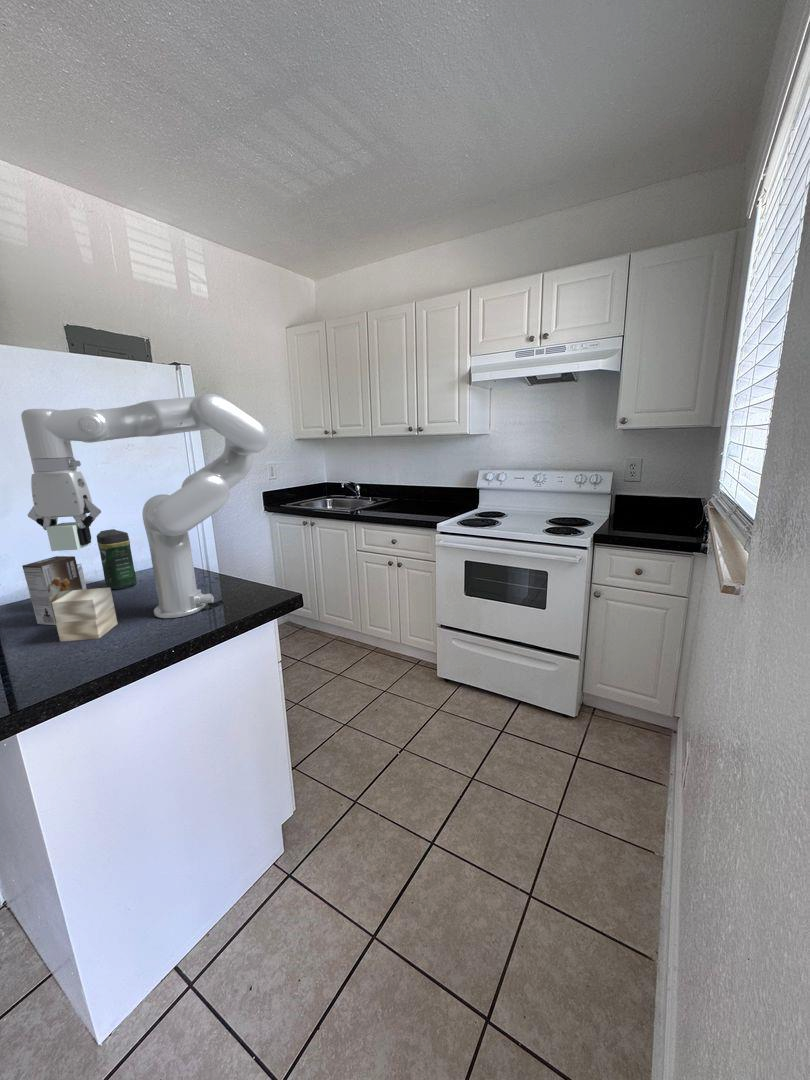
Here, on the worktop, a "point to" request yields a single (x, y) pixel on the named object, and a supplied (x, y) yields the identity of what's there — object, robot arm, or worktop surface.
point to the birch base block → (87, 627)
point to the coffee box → (50, 584)
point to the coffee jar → (116, 559)
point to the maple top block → (83, 605)
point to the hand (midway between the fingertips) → (71, 544)
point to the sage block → (64, 537)
